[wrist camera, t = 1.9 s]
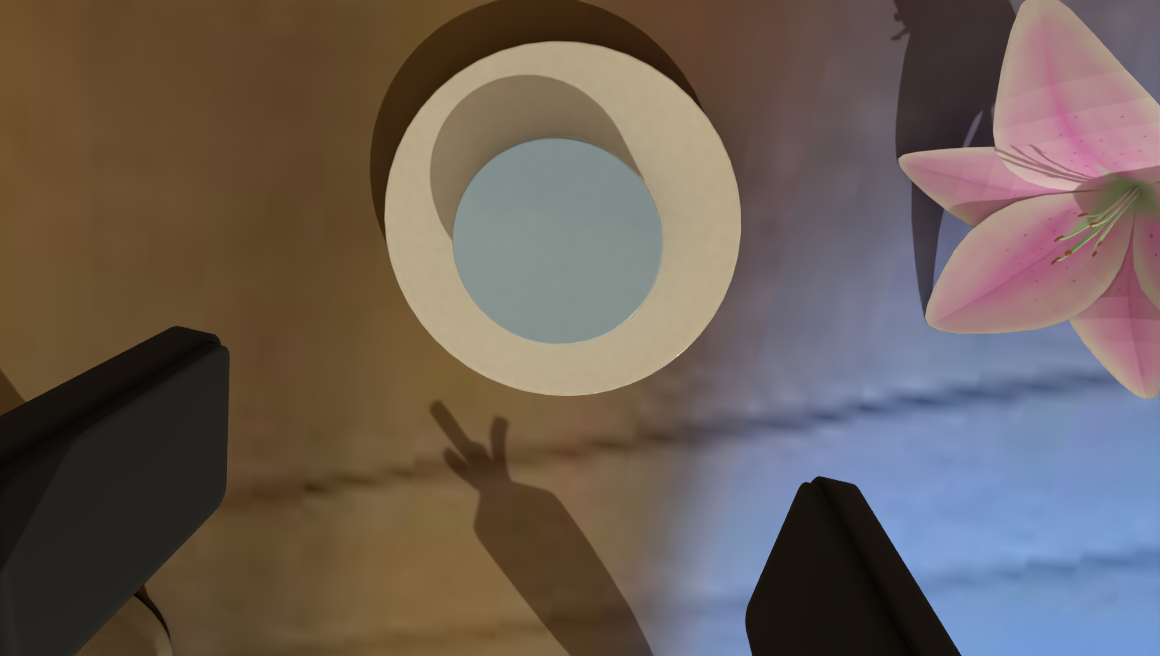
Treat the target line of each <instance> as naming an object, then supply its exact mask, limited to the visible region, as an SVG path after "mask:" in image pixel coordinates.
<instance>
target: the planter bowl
mask: <svg viewBox="0 0 1160 656" xmlns="http://www.w3.org/2000/svg"><path fill="white" fill-rule="evenodd" d="M75 656H173V654H172V646H171V643H170V639H169V637H168V634H167V632H166V631H165V629H164V627H163V626H162V624H161V623H160V621H159V620H158V618H157V617H156V616H155V615H154V613H153V612H152V611H151V610H150V609H149V608H148V607H147V606H146V605H145V604H144V603H143V602H141V601H140V600H139V599H138V598H137V597H135V596H134V595H133V596H132V597H131V598H130V599H129V600H128V601H127V602H126V603H125V604H124V605H123V606H122V607H121V608H120V609H119V610H118V611H117V612H116V613H115V614H114V615H113V617H112V618H111V619H110V620H109V621H108V622H107V623H106V624H105V625H104V626H103V627H102V628H101V629H100V630H99V631H98V632H97V633H96V634H95V635H94V636H93V637H92V638H91V639H90V640H89V641H88V642H87V643H86V644H85V645H84V646H83V647H82V648H81V649H80V650H79V652H78V653H77V654H76V655H75Z"/></svg>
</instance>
